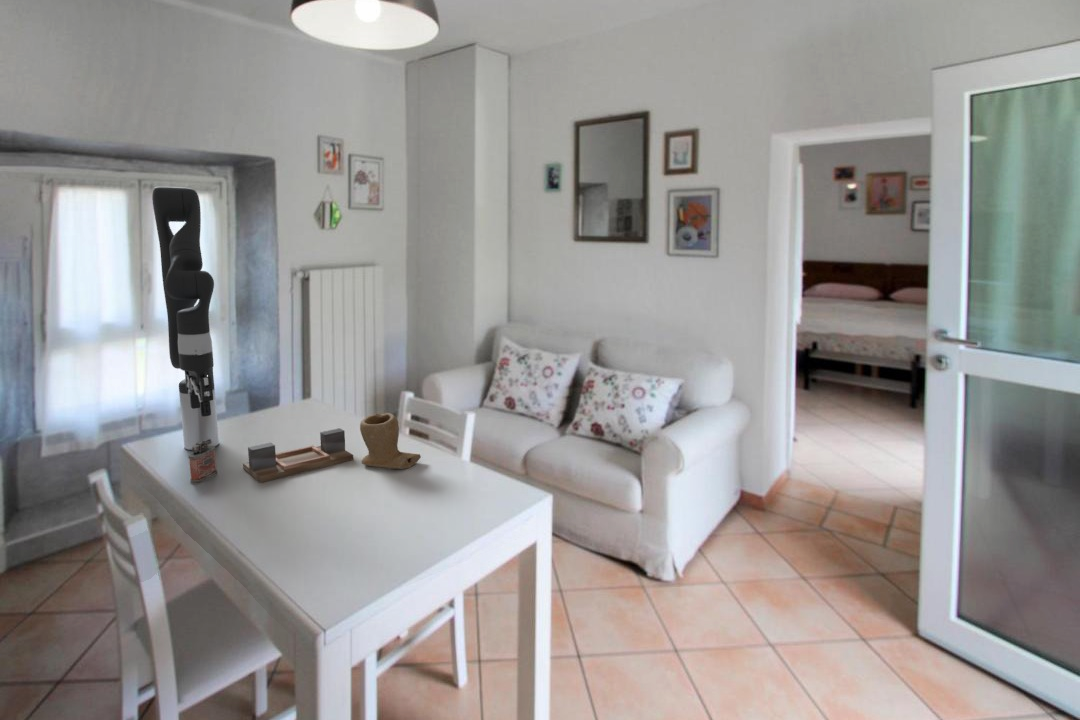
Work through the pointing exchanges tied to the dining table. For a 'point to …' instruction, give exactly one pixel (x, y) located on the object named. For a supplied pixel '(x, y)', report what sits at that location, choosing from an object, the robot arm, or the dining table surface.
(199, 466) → the lighter
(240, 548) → the dining table surface
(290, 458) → the rail
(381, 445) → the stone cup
